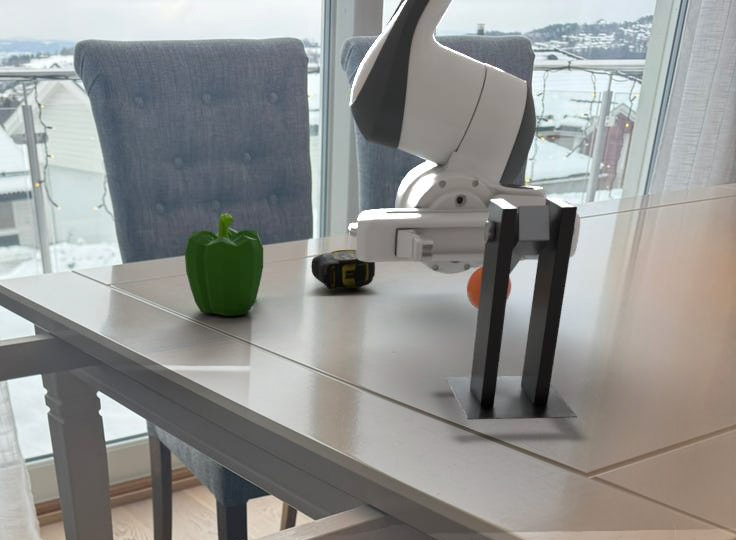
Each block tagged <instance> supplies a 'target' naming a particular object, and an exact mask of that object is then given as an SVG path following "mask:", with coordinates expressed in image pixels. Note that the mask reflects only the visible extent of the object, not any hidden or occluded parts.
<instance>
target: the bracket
mask: <svg viewBox="0 0 736 540" xmlns="http://www.w3.org/2000/svg"><path fill="white" fill-rule="evenodd" d="M546 198H547V199H546V204H545V205H550V241H549V242H548V243H547V245H546V246H545V247H544V248H543V250H542V251H541V252H540V254H539V256H538V260H537V263H536V264H537V265H536V271H535V279H534V287H533V295H532V301H531V308H530V315H529V323H528V330H527V338H526V344H525V345H526V346H525V352H524V360H523V368H522V374H521V375H498V373H499V365H500V358H501V357H500V356H501V348H502V341H503V334H504V333H503V331H504V324H505V323H504V322H505V315H506V307H507V301H508V299H507V291H508V283H509V277H510V274H511V273H510V267H511V258H512V250H513V242H514V234H515V225H516V217H517V208H516V207H514V206H513V205H511V204H510V203H508V202H507V201H505V200H504V199H491V200H490V203H489V213H488V221H486V223H485V227H484V241H485V250H484V260H483V269H482V279H481V288H480V298H479V307H478V309H477V317H476V318H477V319H476V328H475V338H474V345H473V356H472V366H471V375H470V376H445V380H446V382H447V384H448V386H449V387H450V389H451V391H452V394H453V395H454V397H455V399H456V400H457V402H458V405H459V406H460V408H461V410H462V413H464V415H465V418H466V419H467V420H508V419H510V420H513V419H514V420H515V419H516V420H517V419H565V418H567V419H570V418H572V419H573V418H578V416H577V414H576V413H575V412H574V411H573V410H572V408H571V407H570V406H569V405H568V404H567V402H566V401H565V400H564V399H563V397H562V396H561V395H560V394H559V393H558V391H557V390H556V389H555V388H554V387H553V385H552V384H551V383H552V375H553V368H554V363H555V362H554V361H555V355H556V350H557V342H558V335H559V329H560V324H561V316H562V310H563V305H564V304H563V303H564V297H565V290H566V284H567V277H568V270H569V264H570V259H571V258H570V252H571V245H572V238H573V235H574V230H575V219H576V213H578V212H577V211H578V207H577V206H575V205H574V204H572V203H570V202H568V201H567V200H564V199H563V198H561V197H546ZM506 300H507V301H506Z"/></svg>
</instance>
